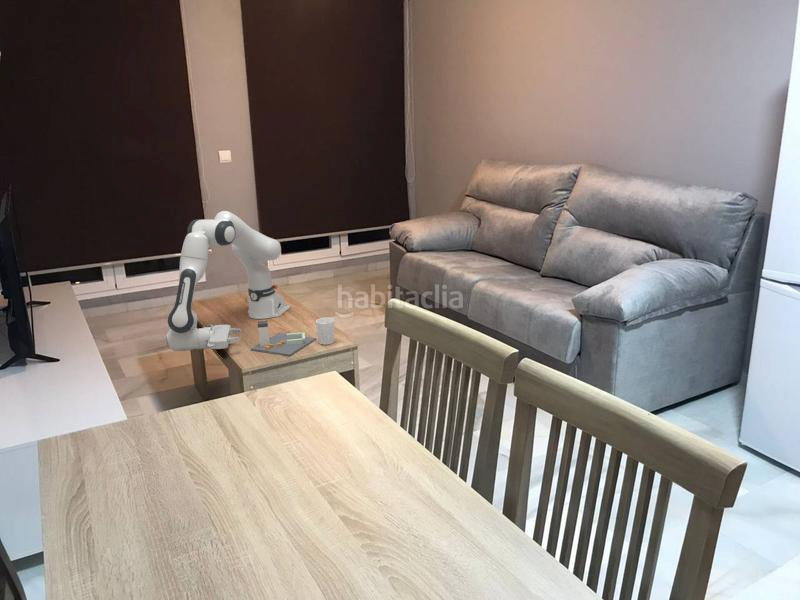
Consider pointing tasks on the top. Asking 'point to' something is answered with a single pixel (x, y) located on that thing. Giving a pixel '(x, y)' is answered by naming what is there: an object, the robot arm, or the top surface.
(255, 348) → the board
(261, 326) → the beige container
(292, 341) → the end holder
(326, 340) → the white cup
